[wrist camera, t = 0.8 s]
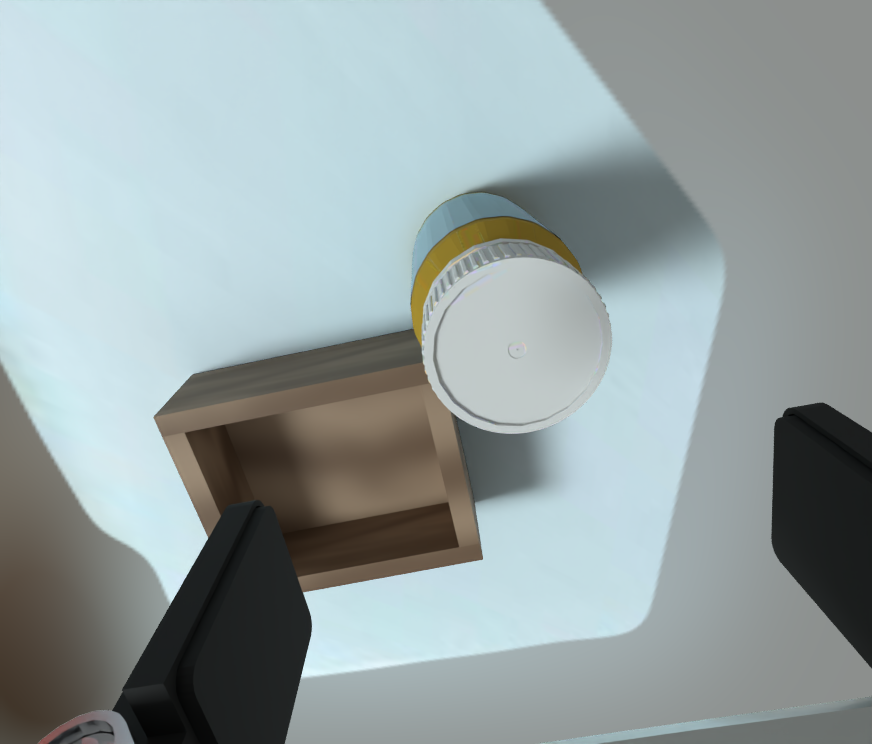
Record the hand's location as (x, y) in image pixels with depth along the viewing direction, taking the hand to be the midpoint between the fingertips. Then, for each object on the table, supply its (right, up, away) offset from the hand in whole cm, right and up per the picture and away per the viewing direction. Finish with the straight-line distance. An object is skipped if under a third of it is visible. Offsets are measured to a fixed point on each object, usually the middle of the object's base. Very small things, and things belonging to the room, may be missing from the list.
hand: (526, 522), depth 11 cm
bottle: (+1, +9, +22) cm, 24 cm away
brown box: (-8, -2, +26) cm, 27 cm away
